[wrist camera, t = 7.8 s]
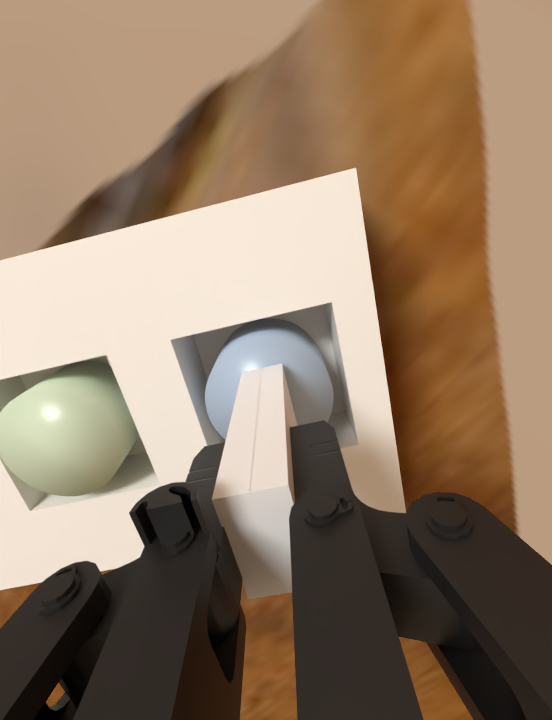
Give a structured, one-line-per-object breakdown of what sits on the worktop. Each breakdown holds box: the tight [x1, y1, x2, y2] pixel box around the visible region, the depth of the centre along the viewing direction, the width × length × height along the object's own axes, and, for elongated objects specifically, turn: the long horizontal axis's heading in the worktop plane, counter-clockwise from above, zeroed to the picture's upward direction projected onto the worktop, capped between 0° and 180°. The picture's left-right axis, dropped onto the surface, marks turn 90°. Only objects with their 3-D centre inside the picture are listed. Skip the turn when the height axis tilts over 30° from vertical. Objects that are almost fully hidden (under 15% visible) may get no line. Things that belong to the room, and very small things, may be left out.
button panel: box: [0, 168, 406, 590], centre depth 17 cm, size 26×14×4 cm, turn 103°
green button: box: [0, 361, 140, 496], centre depth 16 cm, size 5×5×3 cm
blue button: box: [205, 318, 333, 440], centre depth 15 cm, size 5×5×3 cm
